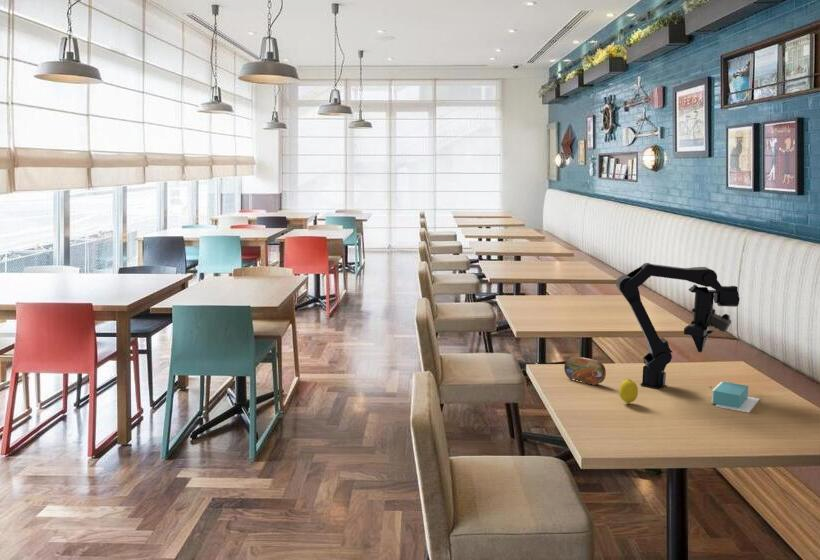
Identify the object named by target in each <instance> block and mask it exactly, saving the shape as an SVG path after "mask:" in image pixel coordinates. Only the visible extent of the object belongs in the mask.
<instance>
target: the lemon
mask: <svg viewBox="0 0 820 560" xmlns="http://www.w3.org/2000/svg"><path fill="white" fill-rule="evenodd" d="M638 393H639V389H638V385H637V384H636V382H635V381H633V380H631V378H628V379H626V380H624V381H622V382H621V383H620V385H619V390H618V394H619V397H620V399H621V400H622V401H623V402H625V403H626V404H627V405H629V404H631V403H633V402H634V401H636V399H637V398H638V395H639V394H638Z"/></svg>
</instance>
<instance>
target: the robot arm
mask: <svg viewBox="0 0 820 560" xmlns="http://www.w3.org/2000/svg"><path fill="white" fill-rule="evenodd" d="M650 277H657V278H665V279H673V280H674V279H675V280H679V281H680V280H681V281H687V282H690V283H693V285H692V286H691V287H690V288H688V291H689V292H691V293H693V294H694V303H693V304H694V305H693V306H694V307H693V308H692V309H691V312H692V313H693V316H692V317H693V319H692V320H691V321H690V324H688V325H686V326H685V327H684V328H683V335H689V336H691V338H692V340H693V342H694V343H693V344H695V348H696V350H697V352H698V353H703V351H704V347H705V345H706V342H707V341H708V340H707V339H708V338H709V336H710V335H711V334H713V333H714V332H715V331H714V330H711V329H710V327H713V328H715V329H716V330H717V329H718V330H719V331H721V332H726V331H728V330H729V327H730V326H731V324H732V320H731V317H730V315H729V314H728V313H724V314H723V315H721V314H717V313H716V310H715V308H714V304H716V305H717V306H718V307H732V308H734V307H735V308H736V307H738V306H739V304H740V299H741V298H740V295H739V291H738V289H739V288H738V286H736V285H722V284H721V283H720V282H719V280H718V274H717V272H716V271H715V270H713V269H710V268H709V267H706V266H697V267H696V266H693V267H677V266H670V265H661V264H654V263H650V262H645V263H643V264H641V265H640V266H638V267H637V268H635V269H634V270H632V271H630V272H628V274H626V275H621V276H619V277H618V278H617V280H616V283H615V286H616V288H617V289H618V291H619V293H620V294H621V295H622V296H623V298H624V299H625V300H626V301H627V303H628V304H629V306H630V308H631V310H632V313H633V315H634V317H635V319H636V321H637V323H638V324H639V326H640V329H641V331H642V333H643V335H644V337H645V339H646V343H647V348H648V351H649V352H648V353H647V354H646V355H644V356H643V357H642V361H643V364H644V365H643V366H642V381H641V383H640V386H643V387H648V388H654V389H661V388H663V387H664V386H665V385H666V382H667V381H666V377H667V372H665V369H666V367H667V365H668V364H670V363H671V361H672V359H673V355H672V353H673V350H671V348H670V346H669V343H668V340H666V338H665V337H661V338H660V337H659V335H658V333H657V331H656V329H655V326H654V324H653V323H652V320H651V319H650V317H649V314H648V313H647V310H646V309H645V306H644V304H643V302H642V299H641V295H640V293H641V292H640V289H639V287H640V286H642V285H643V284H644V283H645V282H646V281H648V279H649V278H650ZM698 285H699V286H698ZM708 287H709V288H711V289H709V288H708Z"/></svg>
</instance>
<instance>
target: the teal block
mask: <svg viewBox="0 0 820 560" xmlns="http://www.w3.org/2000/svg"><path fill="white" fill-rule="evenodd" d="M748 394H749V385H745V384H740V383H734V382H730V381H729V382H727V381H720V382H719V383H718V384H717V385H716V386H715V387H714V388H713V389H712V390H711V398H710V399H711V401H710V403H711V404H714V405H716V404H719V405H725V406H730V407H736V408H739V407H740V406H741V405H742V404H743V403H744V402H745V400H746V399H747V398H748V397H749V396H748Z"/></svg>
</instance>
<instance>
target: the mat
mask: <svg viewBox="0 0 820 560" xmlns="http://www.w3.org/2000/svg"><path fill="white" fill-rule="evenodd" d="M759 401H760V398H757V397H752V396H748V398H747V399H746V400H745V402H744V403H743V404H742V405H741V406H740V407H739V408H736V407H730V406H725V405H719V404H715V408H721V409H727V410H732V411H738V412H743V413H748V414H749V413H750V412H751V411H752V410H753V409H754V408H755V406H756V405H757V403H758V402H759Z"/></svg>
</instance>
